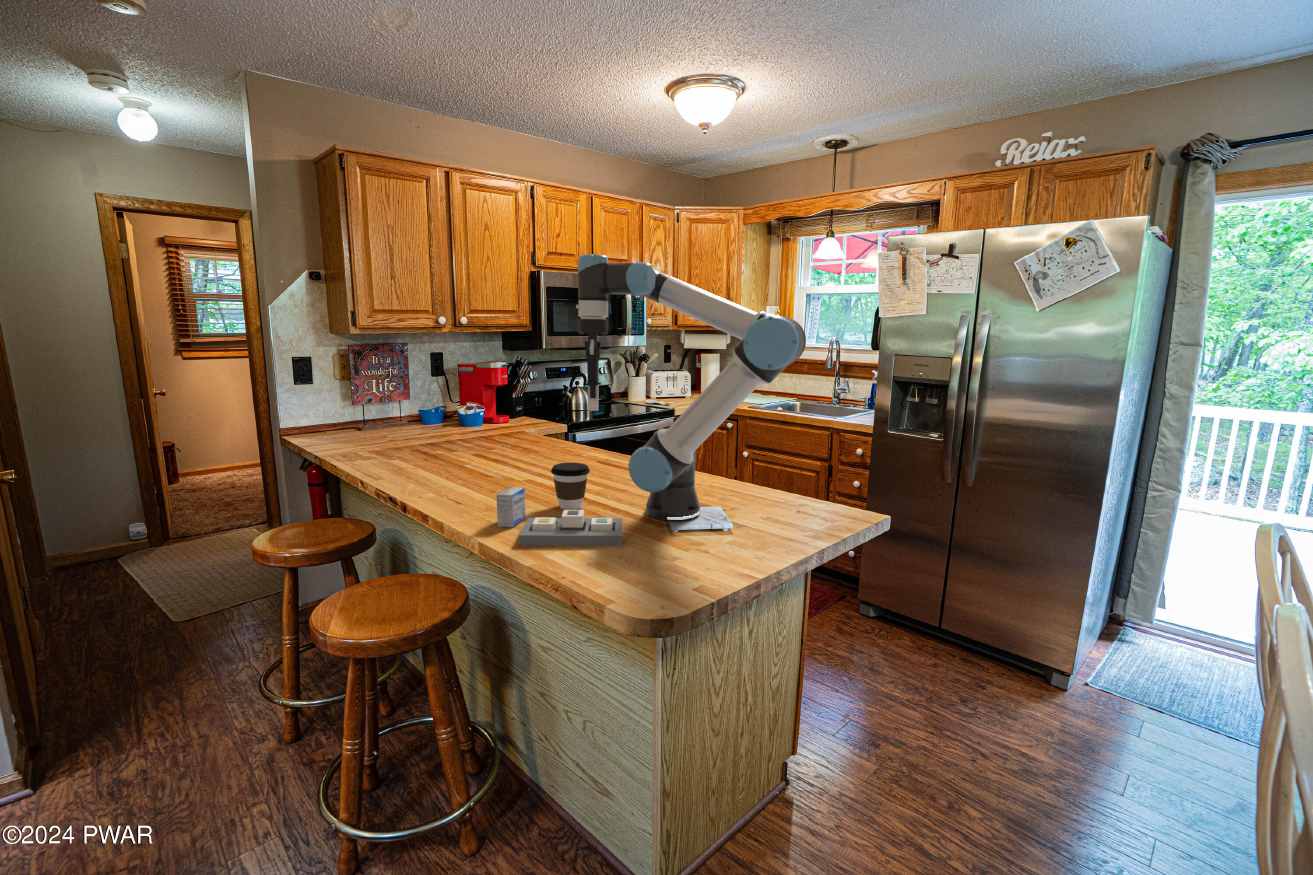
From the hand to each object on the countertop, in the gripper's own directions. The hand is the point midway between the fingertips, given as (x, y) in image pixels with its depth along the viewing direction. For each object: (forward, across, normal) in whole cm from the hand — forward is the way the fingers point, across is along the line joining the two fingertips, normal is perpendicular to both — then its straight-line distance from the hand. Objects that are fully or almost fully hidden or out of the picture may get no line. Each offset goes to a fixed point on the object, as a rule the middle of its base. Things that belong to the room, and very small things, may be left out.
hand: (593, 410), depth 155 cm
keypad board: (+29, +14, -4) cm, 33 cm away
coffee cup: (+30, -10, -7) cm, 32 cm away
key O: (+28, +14, +3) cm, 32 cm away
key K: (+26, +14, -4) cm, 30 cm away
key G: (+28, +15, -11) cm, 34 cm away
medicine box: (+30, +4, -21) cm, 37 cm away
